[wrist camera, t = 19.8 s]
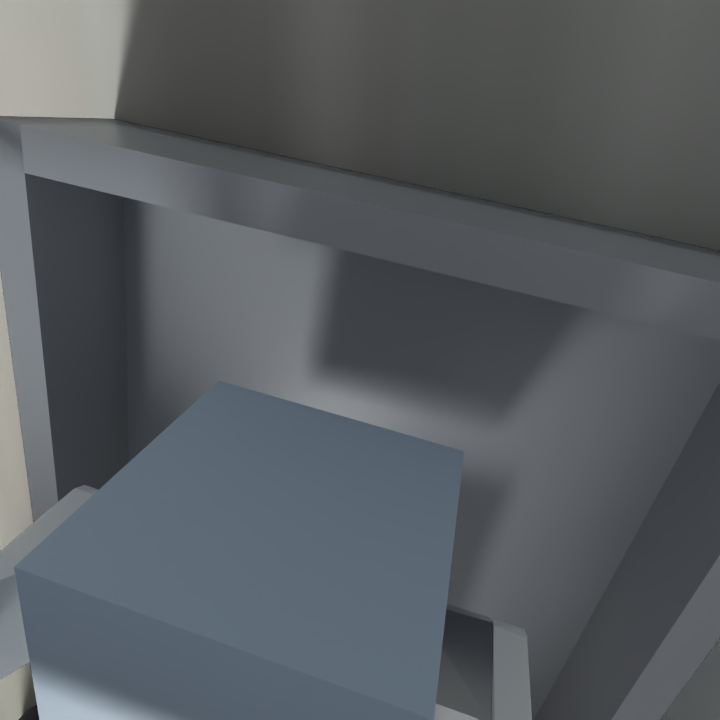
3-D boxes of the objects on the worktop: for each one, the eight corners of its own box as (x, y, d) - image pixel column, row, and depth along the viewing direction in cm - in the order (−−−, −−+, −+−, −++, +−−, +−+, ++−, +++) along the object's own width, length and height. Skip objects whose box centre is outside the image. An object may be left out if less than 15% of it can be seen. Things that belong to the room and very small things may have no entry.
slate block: (406, 625, 11) (352, 918, 7) (207, 558, 11) (51, 790, 7) (463, 451, 9) (433, 719, 5) (219, 380, 9) (13, 566, 5)
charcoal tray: (510, 788, 18) (511, 923, 15) (128, 644, 21) (61, 737, 17) (805, 270, 10) (942, 332, 7) (112, 118, 12) (-20, 116, 9)
